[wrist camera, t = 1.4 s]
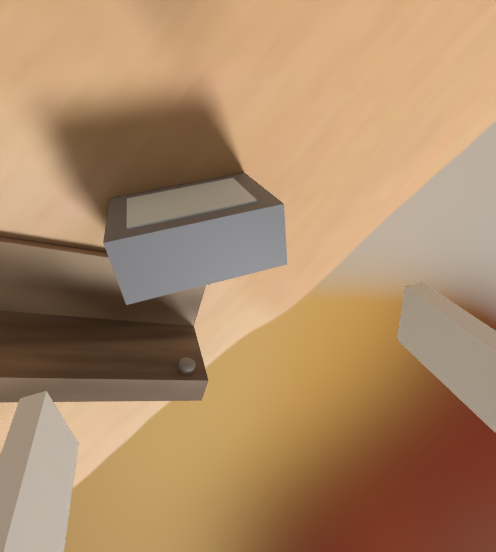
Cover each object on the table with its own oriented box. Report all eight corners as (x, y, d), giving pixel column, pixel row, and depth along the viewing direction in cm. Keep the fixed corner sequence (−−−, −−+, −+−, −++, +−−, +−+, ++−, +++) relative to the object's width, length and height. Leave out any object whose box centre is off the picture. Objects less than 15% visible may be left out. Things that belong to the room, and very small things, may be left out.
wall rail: (-22, 233, 23) (-78, 290, 16) (207, 268, 29) (229, 319, 23) (-21, 324, 26) (-69, 402, 19) (187, 338, 32) (201, 400, 26)
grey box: (109, 196, 24) (102, 241, 17) (243, 171, 26) (283, 202, 19) (126, 248, 26) (126, 305, 20) (249, 221, 28) (287, 264, 22)
